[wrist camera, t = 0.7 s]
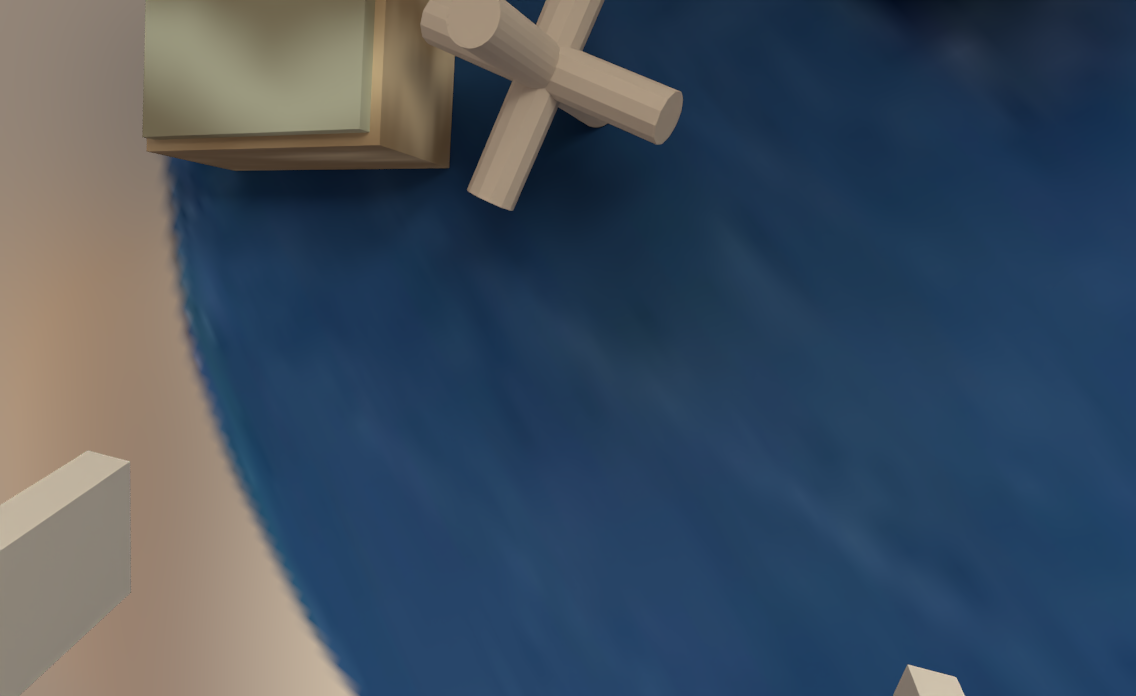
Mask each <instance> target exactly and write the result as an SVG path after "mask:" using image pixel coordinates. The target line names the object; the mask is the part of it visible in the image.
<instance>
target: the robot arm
mask: <svg viewBox="0 0 1136 696" xmlns="http://www.w3.org/2000/svg"><path fill="white" fill-rule="evenodd" d="M130 553H131V542H130V461H126V460H123V459H119V458H115V457H111V456H107V455H103V454H100V453H95V452H92V451H86V452H84V453H83V454H81V455H80V456H78V457H77V458H75V459H73V460H72V461H70V462H68V463H67V464H65V465H63V466H62V467H60V468H59V469H57V470H56V471H54V472H52V473H51V474H49V475H47V476H46V477H44V478H43V479H41V480H39V481H38V482H36V483H34V484H33V485H31V486H30V487H28V488H26V489H25V490H23V491H22V492H20V493H18V494H17V495H15V496H13V497H12V498H10V499H9V500H7V501H5V502H4V503H2V504H1V505H0V696H20V695H21V694H22V693H23V692H24V691H25V690H26V689H27V688H28V687H29V686H30V685H31V684H33V683H34V682H35V681H36V680H37V679H38V678H39V677H40V676H41V675H42V674H44V672H46V671H47V670H48V669H49V668H50V667H51V666H52V665H53V664H54V663H55V662H56V661H58V660H59V659H60V658H61V657H62V656H63V655H64V654H65V653H66V652H67V651H68V650H69V649H70V648H71V647H73V646H74V645H75V644H76V643H77V642H78V641H79V640H80V639H81V638H82V637H83V636H84V635H86V634H87V632H89V631H90V630H91V629H92V628H93V627H94V626H95V625H96V624H97V623H99V622H100V621H101V620H102V619H103V618H104V617H105V616H106V615H107V614H108V613H109V612H110V611H111V610H112V609H113V608H115V607H116V606H117V605H118V604H119V603H120V602H121V601H122V600H123V599H124V598H126V596H128V595H129V594H130V593H131V562H130V561H131V555H130ZM893 696H965V695H964V693H963V691H962V689H961V687H960V684H959V682H958V680H957V678H956V677H954V676H950V675H946V674H942V673H938V672H934V671H931V670H927V669H923V668H919V667H915V666H911V665H908V664H907V667H906V669H905V671H904V673H903V675H902V677H901V680H900V682H899V684H898V686H897V688H896V690H895V693H894V695H893Z"/></svg>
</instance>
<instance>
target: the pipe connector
mask: <svg viewBox="0 0 1136 696" xmlns="http://www.w3.org/2000/svg"><path fill="white" fill-rule="evenodd" d="M603 3H604V0H546V2H545V4H544V7H543V9H542V11H541V14H540V16H539V19H538V21H537V23H536V25H535V24H534V23H533V22H531V21H530V20H529V19H528V18H526V17H525V16H524V15H523V14H522V13H520V12H519V11H518V10H517V9H515V8H514V7H513V6H512V5H510V4H509V3H508V2H507V1H505V0H429V2H428V3H427V5H426V7H425V8H424V10H423V13H422V18H421V23H420V26H421V33H422V37H423V38H424V39H425V41H426V42H427V43H428V44H430V45H432V46H434V47H437V48H439V49H441V50H443V51H446V52H448V53H450V54H452V55H455V56H457V57H459V58H461V59H464V60H466V61H468V62H471V63H473V64H475V65H477V66H480V67H482V68H484V69H486V70H489V71H491V72H493V73H495V74H498V75H500V76H502V77H505V78H507V79H509V80H511V81H512V83H511V86H510V88H509V90H508V93H507V95H506V98H505V100H504V102H503V105H502V107H501V110H500V112H499V114H498V117H497V119H496V122H495V124H494V126H493V129H492V131H491V134H490V136H489V138H488V141H487V143H486V146H485V148H484V150H483V153H482V155H481V158H480V160H479V162H478V165H477V167H476V169H475V172H474V174H473V177H472V179H471V181H470V184H469V186H468V189H467V190H468V191H469V192H470V193H472V194H473V195H475V196H477V197H479V198H481V199H483V200H485V201H487V202H489V203H492V204H494V205H496V206H499V207H501V208H504V209H507V210H510V211H513V210H514V207H515V205H516V203H517V201H518V198H519V196H520V194H521V191H522V189H523V187H524V184H525V182H526V180H527V178H528V175H529V173H530V171H531V168H532V166H533V164H534V161H535V159H536V157H537V155H538V152H539V150H540V148H541V145H542V143H543V141H544V138H545V136H546V134H547V131H548V129H549V127H550V125H551V122H552V120H553V118H554V115H555V113H556V111H557V108H558V107H559V108H560V109H562V110H564V111H565V112H567V113H569V114H570V115H572V116H573V117H575V118H577V119H578V120H580V121H581V122H583V123H585V124H586V125H588V126H591V127H601V126H604V125H606V124H608V123H609V124H611V125H613V126H616V127H618V128H620V129H622V130H625V131H627V132H629V133H631V134H634V135H636V136H638V137H641V138H643V139H645V140H647V141H650V142H652V143H654V144H656V145H657V144H663V143H664V141H665V140H666V139H667V138H668V137H669V136H670V135H671V133H672V131H673V129H674V128H675V126H676V124H677V121H678V119H679V116H680V113H681V110H682V104H683V96H682V93H681V91H678V90H676V89H673V88H671V87H668V86H666V85H663V84H661V83H659V82H656V81H654V80H651V79H649V78H646V77H644V76H641V75H639V74H637V73H634V72H632V71H629V70H627V69H624V68H622V67H619V66H617V65H614V64H612V63H610V62H607V61H605V60H602V59H600V58H597V57H595V56H592V55H590V54H588V53H585V52H583V49H584V46H585V44H586V42H587V39H588V37H589V35H590V33H591V30H592V28H593V26H594V23H595V21H596V19H597V16H598V14H599V12H600V10H601V7H602V5H603Z"/></svg>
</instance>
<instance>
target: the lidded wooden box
mask: <svg viewBox="0 0 1136 696" xmlns="http://www.w3.org/2000/svg"><path fill="white" fill-rule="evenodd" d="M428 2H429V0H146V9H145V52H144V96H143V137H144V138H147V151H148V152H152V153H157V154H161V155H166V156H170V157H175V158H179V159H184V160H188V161H193V162H197V163H202V164H206V165H211V166H215V167H220V168H224V169H229V170H234V171H251V170H336V169H421V168H449V161H450V141H451V121H452V101H453V81H454V62H455V55H452V54H450V53H448V52H446V51H443V50H441V49H439V48H437V47H434V46H432V45H430V44H428V43H427V42H426V41H425V39H424V38H423V37H422V33H421V26H420V23H421V18H422V13H423V10H424V8H425V7H426V5H427V3H428Z"/></svg>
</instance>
